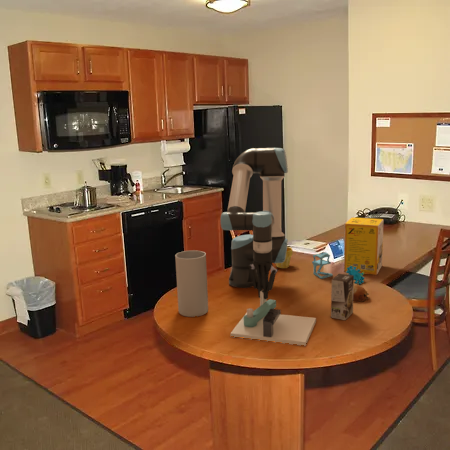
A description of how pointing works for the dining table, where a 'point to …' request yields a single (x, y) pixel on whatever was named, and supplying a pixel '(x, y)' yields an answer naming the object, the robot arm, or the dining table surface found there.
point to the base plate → (279, 329)
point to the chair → (321, 264)
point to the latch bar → (258, 313)
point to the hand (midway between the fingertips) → (263, 305)
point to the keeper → (270, 322)
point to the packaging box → (363, 244)
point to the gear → (356, 274)
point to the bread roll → (359, 293)
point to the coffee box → (342, 296)
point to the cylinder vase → (192, 283)
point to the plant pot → (286, 259)
